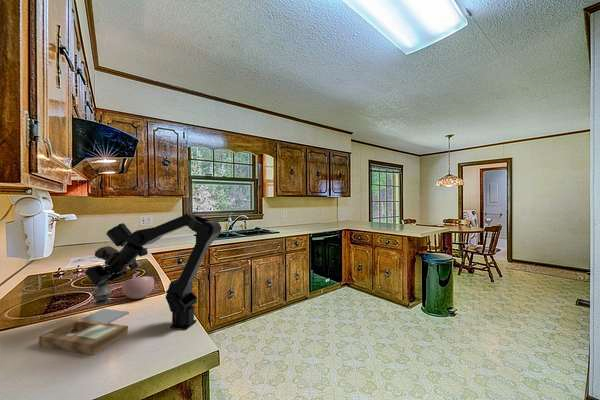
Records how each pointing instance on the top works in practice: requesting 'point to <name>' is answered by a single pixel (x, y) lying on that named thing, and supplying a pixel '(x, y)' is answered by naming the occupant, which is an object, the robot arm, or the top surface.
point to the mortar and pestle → (138, 286)
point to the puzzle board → (84, 336)
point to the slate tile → (105, 315)
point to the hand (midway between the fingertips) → (99, 284)
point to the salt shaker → (102, 294)
